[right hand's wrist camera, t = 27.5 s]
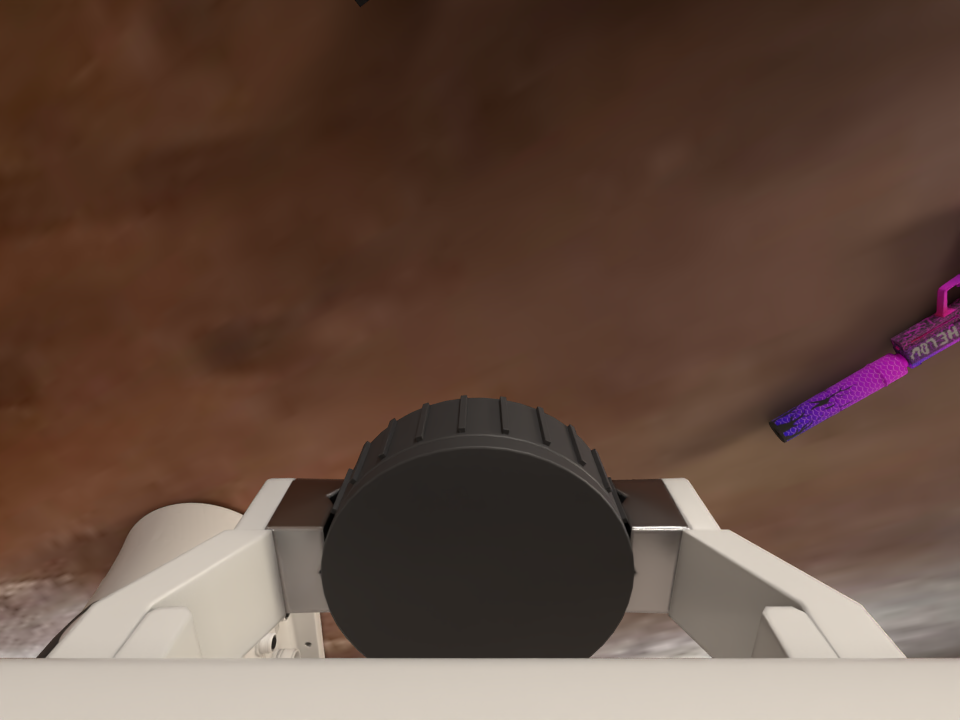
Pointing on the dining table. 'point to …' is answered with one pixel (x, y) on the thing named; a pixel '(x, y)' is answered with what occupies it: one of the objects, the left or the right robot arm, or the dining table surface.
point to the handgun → (878, 368)
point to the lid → (477, 538)
